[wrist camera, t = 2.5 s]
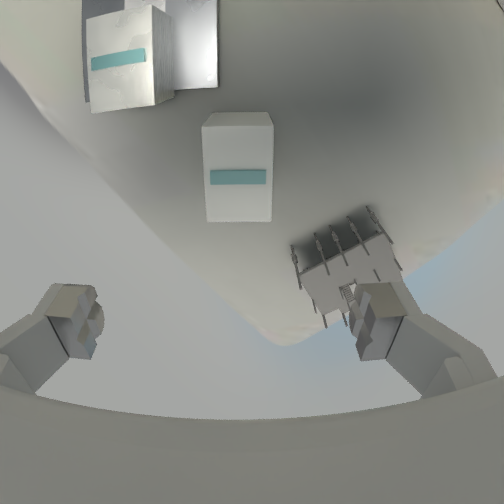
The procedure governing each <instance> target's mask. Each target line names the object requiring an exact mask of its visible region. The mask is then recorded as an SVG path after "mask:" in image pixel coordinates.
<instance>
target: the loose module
mask: <svg viewBox="0 0 504 504" xmlns="http://www.w3.org/2000/svg"><path fill="white" fill-rule="evenodd" d="M201 130H202V151H203V170H204V187H205V203H206V217H207V222H271V215H272V183H273V146H274V125H273V123H272V121H271V118H270V116H269V114H268V112H220V113H212V114H211V115H210V117H209V118H208V119H207V120H206V122H205V123H204V124H203V126H202V127H201Z"/></svg>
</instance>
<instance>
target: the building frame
mask: <svg viewBox="0 0 504 504" xmlns="http://www.w3.org/2000/svg"><path fill="white" fill-rule="evenodd" d="M366 208H367V209H368V207H367V206H366ZM368 212H369V213H370V216H371V218H372V220H373V221H374V222H375V223H377V224H378V226H379V227H380V229H381V230H382V232H380V233H378V231H376V232H377V233H378V234H376V235H374V236H372V237H370V238H369V239H367V240H365V241H362V240H361V238H360V236H359V234H358V231H357V229H356V227H355V225H354V223H351V221H350V220H349V218H348V216H347V218H348V221H349V222H350V227H351V229H352V230H353V232H354V234H356V235H357V237H358V239H359V240H358V242H359V244H357V245H355V246H353V247H351V248H349V249H347V250H344V251H342V249H341V247H340V245H339V240H338V238H337V236H336V234H335V232H333V230H332V228H331V226H330V225H329V227H330V229H331V231H332V233H331V235H332V237H333V239H334V241H335V243H336V244H337V245H338V248H339V250H340V253H339V254H337V255H335V256H333V257H330V258H329V259H327V258H326V259H327V260H325V258H324V255H323V252H322V251H323V249H322V245H321V243H320V242H319V240H318V239H317V236H316V235H315V233H314V235H315V238H316V242H315V243H316V245H317V248H318V250H319V252H320V253H321V256H322V259H323V262H321V263H319V264H317V265H315V266H313V267H311V268H309V269H308V268H307V270H303V272H301V273H299V272H298V267H297V263H298V260H297V256H296V254H295V253H294V248H292V245H291V250H292V254H291V256H292V261H293V263H294V265H295V268H296V273H297V278H298V283H299V288H300V290H302V286H301V283H302V285H303V286H304V288H305V289H306V291H307V292H308V294H309V296H310V297H311V299H312V301H313V305H314V310H315V313H316V314H317V312H316V307H315V305H316V306H317V308H318V309H319V311H320V312H321V314H322V316H323V320H324V324H325V328H327V323H326V319H325V316H324V315H325V314H328V313H330V312H332V311H334V310H336V309H338V308H339V309H340V311H341V313H342V315H343V319H344V322H345V325H346V327H347V326H348V325H347V321H346V318H345V315H344V313H346V312H348V311H350V308H351V305H352V304H353V303H354V302H355V301H356V299H355V298H354V296H353V294H352V292H351V289H350V287H349V285H352V284H354V283H355V284H356V285H357V284H366V283H387V282H393V281H402V282H403V279H402V276H401V273H400V271H403V270H402V268H401V266H400V265H399V263H398V262H397V260H396V259H395V256H394V253H393V250H392V248H391V245H392V244H393V242H392V240H391V239H390V238H389V236H388V235H387V233H386V232H385V230H384V229H383V228H382V226H381V225H380V223H379V221H378V218H377V217H376V216H375V214H374V213H373V212H372V213H371V211H370V210H369V209H368ZM360 242H361V243H360ZM390 243H391V245H390ZM399 269H400V270H399ZM348 284H349V285H348ZM342 291H343V292H342ZM343 293H344V294H343Z"/></svg>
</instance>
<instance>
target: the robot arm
mask: <svg viewBox="0 0 504 504" xmlns="http://www.w3.org/2000/svg"><path fill="white" fill-rule="evenodd" d="M498 2H499V4H500V5H501V7H502V9H503V10H504V0H498ZM354 296H355V299H356V301H355V302H354V303H353V304H352V305H351V308H350V312H349V325H350V330H351V333H352V335H353V336H355V337H356V338H357V342H356V348H357V351H358V354H359V357H360V360H361V361H369V360H380V359H386V361H387V362H388V363H389V364H390V365H391V366H392V367H393V368H394V369H396V371H397V372H398V373H400V374H401V375H402V376H403V377H404V378H405V379H406V380H407V381H408V382H409V383H410V384H411V385H412V386H413V387H414V388H415V389H416V390H417V391H418V392H419V393H420V394H421V395H422V396H421V398H420V399H419V400H416V401H412V402H407V403H402V404H397V405H392V406H386V407H380V408H374V409H368V410H362V411H354V412H347V413H340V414H331V415H322V416H311V417H298V418H284V419H258V420H214V419H190V418H173V417H161V416H151V415H142V414H133V413H125V412H118V411H111V410H105V409H98V408H93V407H87V406H82V405H77V404H72V403H67V402H62V401H58V400H53V399H49V398H45V397H41V396H37V395H36V394H35V392H36V391H37V390H38V389H39V388H40V387H41V386H42V385H43V384H44V383H45V382H46V381H47V380H48V379H49V378H50V377H51V376H52V375H53V374H54V373H55V372H56V371H57V370H58V369H59V368H60V367H61V366H62V365H63V364H64V363H65V362H66V361H67V360H69V358H78V359H89V360H91V358H92V355H93V353H94V350H95V348H96V345H97V343H96V341H95V338H97V337H98V336H99V335H101V333H102V331H103V328H104V313H103V310H102V307H101V306H100V305H99V304H98V303H97V302H96V301H95V300H96V298H97V293H96V290H95V288H94V287H93V286H91V285H77V284H57V283H55V284H52V285H51V286H50V287H49V289H48V291H47V292H46V293H45V295H44V296H43V298H42V299H41V301H40V302H39V304H38V305H37V307H36V308H35V310H34V312H33V313H32V315H30V314H28V315H26V316H25V317H23V318H22V319H20V320H19V321H17V322H16V323H14V324H13V325H11V326H10V327H8V328H7V329H5V330H4V331H2V332H1V333H0V504H504V376H501V377H497V375H496V373H495V372H494V370H493V368H492V366H491V364H490V363H489V361H488V359H487V357H486V356H485V354H484V352H483V350H482V349H480V348H479V347H477V346H476V345H474V344H473V343H471V342H470V341H468V340H467V339H465V338H464V337H462V336H461V335H459V334H457V333H456V332H454V331H453V330H451V329H450V328H448V327H447V326H445V325H444V324H442V323H440V322H439V321H437V320H436V319H434V318H433V317H431V316H429V315H428V314H423V313H422V312H421V310H420V308H419V307H418V305H417V303H416V302H415V300H414V298H413V297H412V295H411V293H410V292H409V290H408V288H407V287H406V285H405V283H404V282H402V281H393V282H387V283H366V284H357V286H356V288H355V291H354Z"/></svg>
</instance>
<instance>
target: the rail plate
mask: <svg viewBox="0 0 504 504" xmlns="http://www.w3.org/2000/svg"><path fill="white" fill-rule="evenodd" d="M82 58H83V76H84V90H85V101H86V102H90V107H91V114H95V113H101V112H107V111H113V110H120V109H127V108H135V107H143V106H152V105H156V104H159V103H161V102H163V101H166V100H168V99H170V98H173V97H174V90H180V89H194V88H212V87H219V59H218V0H82Z"/></svg>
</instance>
